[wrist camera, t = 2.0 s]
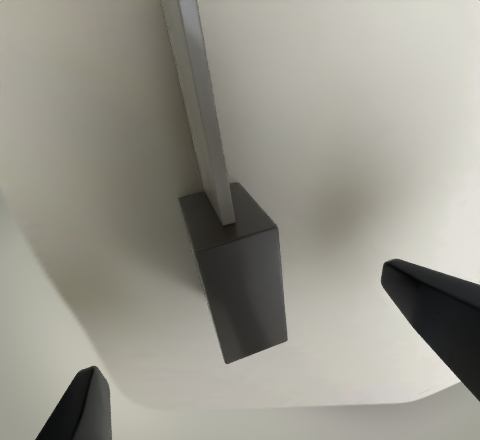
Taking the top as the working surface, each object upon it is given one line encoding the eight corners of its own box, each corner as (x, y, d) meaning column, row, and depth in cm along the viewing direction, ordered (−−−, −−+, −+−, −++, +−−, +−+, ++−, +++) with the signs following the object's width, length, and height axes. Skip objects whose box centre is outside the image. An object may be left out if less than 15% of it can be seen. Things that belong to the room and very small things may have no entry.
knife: (205, 295, 13) (225, 365, 10) (118, -10, 7) (106, -63, 4) (254, 279, 13) (288, 341, 10) (208, -20, 8) (254, -74, 5)
